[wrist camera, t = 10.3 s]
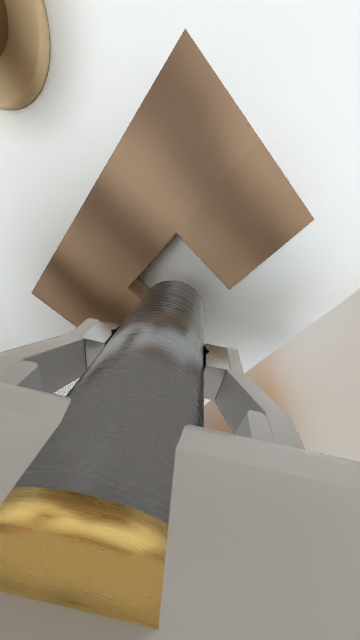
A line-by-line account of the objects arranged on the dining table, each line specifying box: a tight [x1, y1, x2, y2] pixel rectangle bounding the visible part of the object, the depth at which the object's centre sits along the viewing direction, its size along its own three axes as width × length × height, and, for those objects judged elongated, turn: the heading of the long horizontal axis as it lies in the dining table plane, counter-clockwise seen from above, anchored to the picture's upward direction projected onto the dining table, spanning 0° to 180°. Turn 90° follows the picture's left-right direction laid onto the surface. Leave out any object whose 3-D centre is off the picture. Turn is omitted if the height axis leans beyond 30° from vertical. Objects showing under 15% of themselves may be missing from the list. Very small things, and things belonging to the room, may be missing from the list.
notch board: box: [32, 29, 314, 327], centre depth 16 cm, size 20×12×3 cm, turn 136°
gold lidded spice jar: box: [0, 281, 204, 629], centre depth 8 cm, size 4×4×11 cm
